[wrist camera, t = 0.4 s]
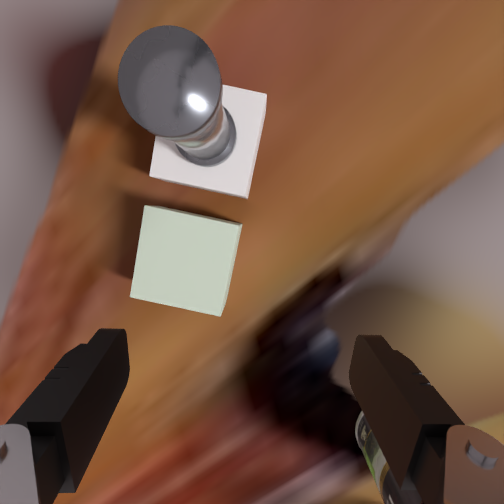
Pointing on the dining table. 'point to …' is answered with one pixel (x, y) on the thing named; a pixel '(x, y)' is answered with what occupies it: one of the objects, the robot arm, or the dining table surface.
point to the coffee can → (381, 467)
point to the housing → (178, 93)
